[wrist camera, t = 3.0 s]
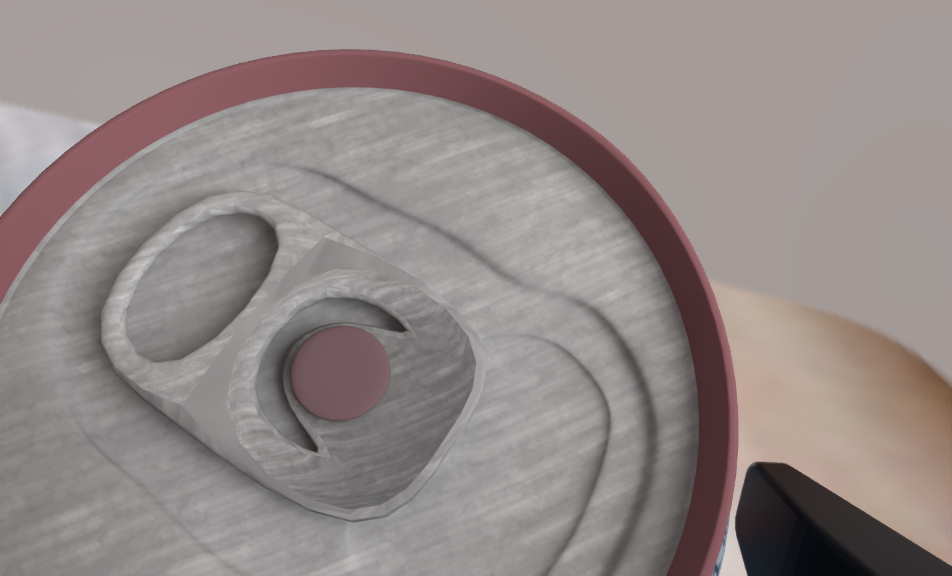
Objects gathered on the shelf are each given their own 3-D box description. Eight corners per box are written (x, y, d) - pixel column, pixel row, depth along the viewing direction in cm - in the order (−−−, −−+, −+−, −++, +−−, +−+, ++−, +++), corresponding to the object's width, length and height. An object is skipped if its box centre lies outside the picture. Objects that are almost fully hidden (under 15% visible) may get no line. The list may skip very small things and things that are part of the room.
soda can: (615, 478, 17) (961, 245, 6) (450, 778, 14) (494, 1412, 3) (372, 322, 18) (267, -118, 7) (181, 574, 15) (-465, 518, 4)
